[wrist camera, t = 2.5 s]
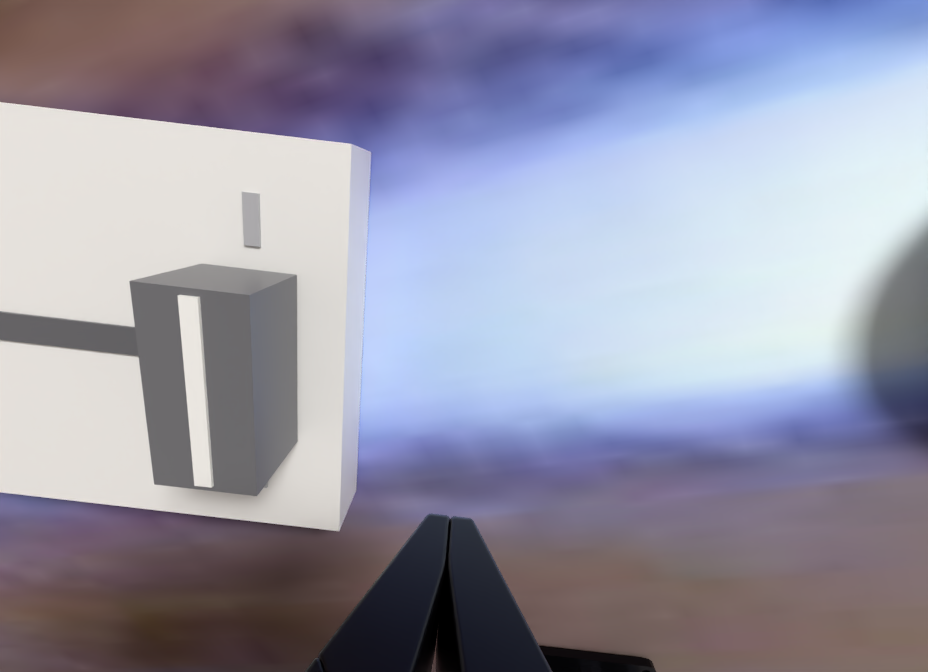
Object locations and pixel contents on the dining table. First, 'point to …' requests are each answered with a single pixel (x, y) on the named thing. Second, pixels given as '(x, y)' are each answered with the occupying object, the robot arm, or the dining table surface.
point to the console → (158, 251)
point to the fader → (218, 374)
